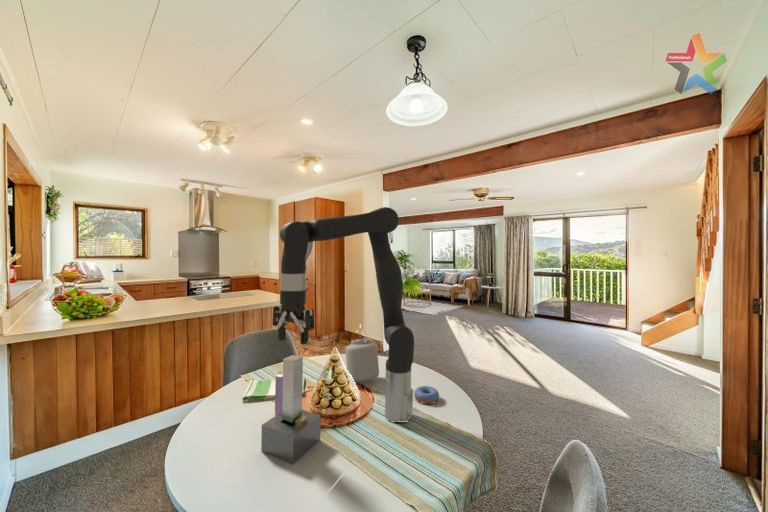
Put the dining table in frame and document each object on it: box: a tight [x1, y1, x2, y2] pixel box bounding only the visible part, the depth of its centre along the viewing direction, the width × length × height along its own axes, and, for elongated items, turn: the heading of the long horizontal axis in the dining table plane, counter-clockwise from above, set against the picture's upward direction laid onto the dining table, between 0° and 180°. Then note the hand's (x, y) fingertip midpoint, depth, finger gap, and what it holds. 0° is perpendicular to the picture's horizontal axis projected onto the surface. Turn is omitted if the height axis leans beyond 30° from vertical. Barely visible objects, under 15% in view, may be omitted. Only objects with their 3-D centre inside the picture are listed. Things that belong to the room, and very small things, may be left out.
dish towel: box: [241, 376, 306, 403], centre depth 125 cm, size 18×23×3 cm
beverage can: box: [274, 370, 283, 417], centre depth 106 cm, size 6×6×15 cm
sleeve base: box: [260, 409, 322, 466], centre depth 89 cm, size 12×12×9 cm
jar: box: [345, 324, 380, 383], centre depth 138 cm, size 19×15×25 cm
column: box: [282, 354, 304, 423], centre depth 89 cm, size 4×4×18 cm
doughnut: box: [413, 385, 440, 404], centre depth 119 cm, size 10×10×5 cm
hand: (292, 342), depth 88 cm, fingers open, 8 cm apart
